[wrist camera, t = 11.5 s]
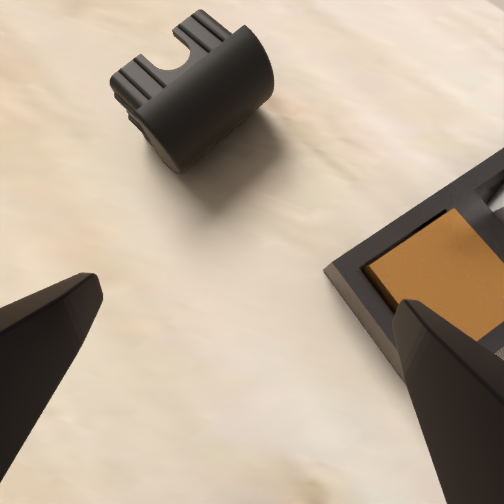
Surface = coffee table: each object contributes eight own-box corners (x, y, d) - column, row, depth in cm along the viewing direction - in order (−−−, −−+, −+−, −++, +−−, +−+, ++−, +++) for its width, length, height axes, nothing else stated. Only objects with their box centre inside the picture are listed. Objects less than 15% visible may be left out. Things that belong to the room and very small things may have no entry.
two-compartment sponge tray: (613, 236, 22) (686, 217, 19) (408, 388, 20) (443, 403, 16) (516, 140, 25) (564, 106, 21) (322, 270, 23) (335, 258, 19)
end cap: (189, 190, 25) (163, 142, 18) (137, 138, 26) (95, 76, 19) (274, 117, 26) (278, 48, 19) (220, 71, 27) (207, -8, 21)
